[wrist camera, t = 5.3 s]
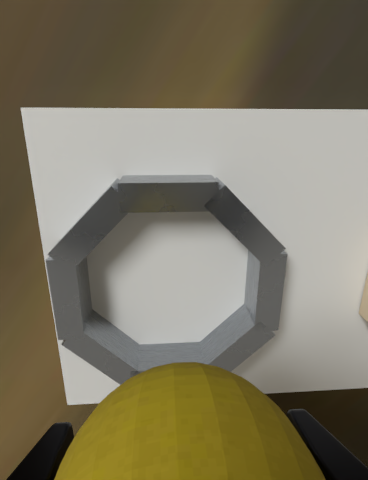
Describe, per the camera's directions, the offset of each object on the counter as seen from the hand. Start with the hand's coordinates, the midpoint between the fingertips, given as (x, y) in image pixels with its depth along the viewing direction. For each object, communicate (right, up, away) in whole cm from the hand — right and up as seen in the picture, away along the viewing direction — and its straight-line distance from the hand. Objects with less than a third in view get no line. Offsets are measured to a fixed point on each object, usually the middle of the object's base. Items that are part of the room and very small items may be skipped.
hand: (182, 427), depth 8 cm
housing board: (+5, +3, +10) cm, 11 cm away
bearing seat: (-1, +3, +8) cm, 9 cm away
